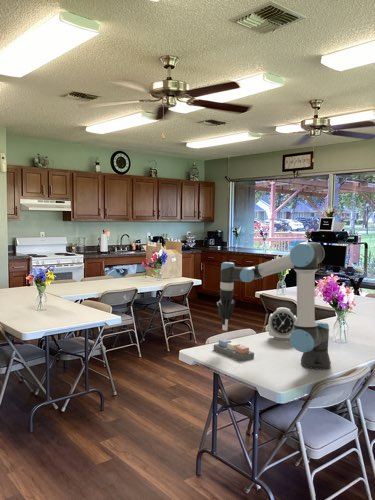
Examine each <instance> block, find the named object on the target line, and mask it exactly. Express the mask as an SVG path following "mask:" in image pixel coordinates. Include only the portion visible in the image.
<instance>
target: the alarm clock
mask: <svg viewBox="0 0 375 500" xmlns="http://www.w3.org/2000/svg"><path fill="white" fill-rule="evenodd" d="M296 321H297V314H296V315H294V313H293V312H292V311H291V308H287V307H282V306H281V307H277V308H276V310H275V311H273V313H270V315H269V318H268V326H267V327H268V329H267V330H268V335H269V336H270V337H273V340H276V341H288V342H290V336H291V333H292V332H293V331H294V323H295V322H296Z"/></svg>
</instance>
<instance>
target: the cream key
mask: <svg viewBox="0 0 375 500" xmlns="http://www.w3.org/2000/svg"><path fill="white" fill-rule="evenodd" d="M237 346H241V344H240V343H238V342H235V341H231V343H227V349H230V350H232V351H234V350H236V347H237Z"/></svg>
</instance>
